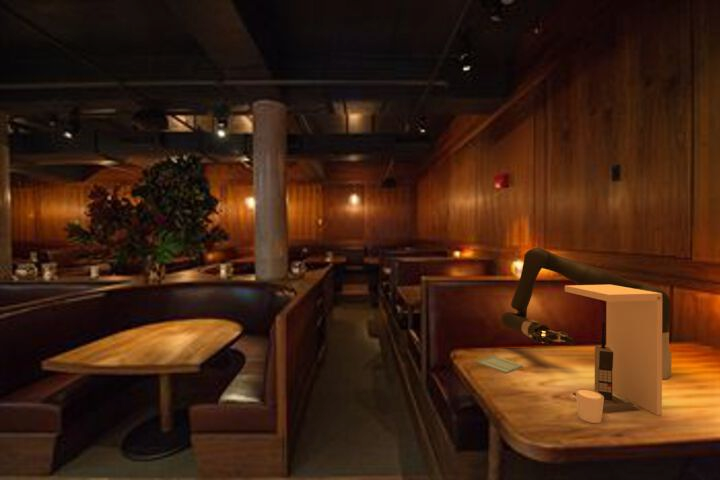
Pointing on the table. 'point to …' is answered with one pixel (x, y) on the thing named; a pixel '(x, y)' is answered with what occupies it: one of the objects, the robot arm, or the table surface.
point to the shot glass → (589, 405)
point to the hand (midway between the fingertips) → (562, 342)
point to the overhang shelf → (631, 344)
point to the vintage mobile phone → (604, 370)
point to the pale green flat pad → (500, 364)
